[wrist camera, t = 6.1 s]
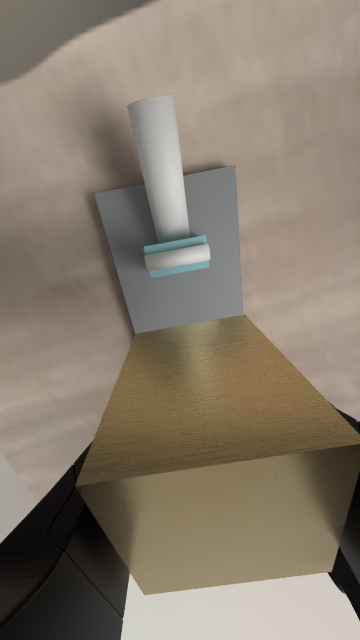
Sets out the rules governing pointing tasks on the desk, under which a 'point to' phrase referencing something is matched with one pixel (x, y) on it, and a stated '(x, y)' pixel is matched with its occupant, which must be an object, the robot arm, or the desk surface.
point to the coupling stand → (173, 230)
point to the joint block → (218, 462)
